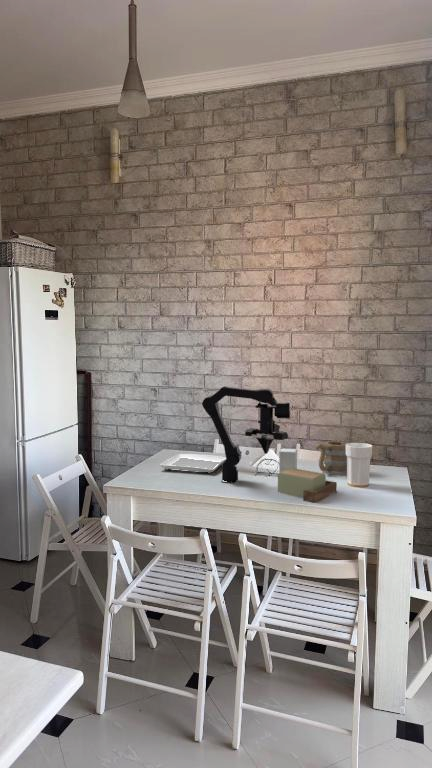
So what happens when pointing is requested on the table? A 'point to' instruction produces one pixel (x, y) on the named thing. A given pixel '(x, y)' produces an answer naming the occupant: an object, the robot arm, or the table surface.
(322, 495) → the bracket
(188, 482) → the table surface
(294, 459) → the supplement box
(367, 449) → the cup
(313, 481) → the tea box
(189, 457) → the square plate
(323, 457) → the tankard
